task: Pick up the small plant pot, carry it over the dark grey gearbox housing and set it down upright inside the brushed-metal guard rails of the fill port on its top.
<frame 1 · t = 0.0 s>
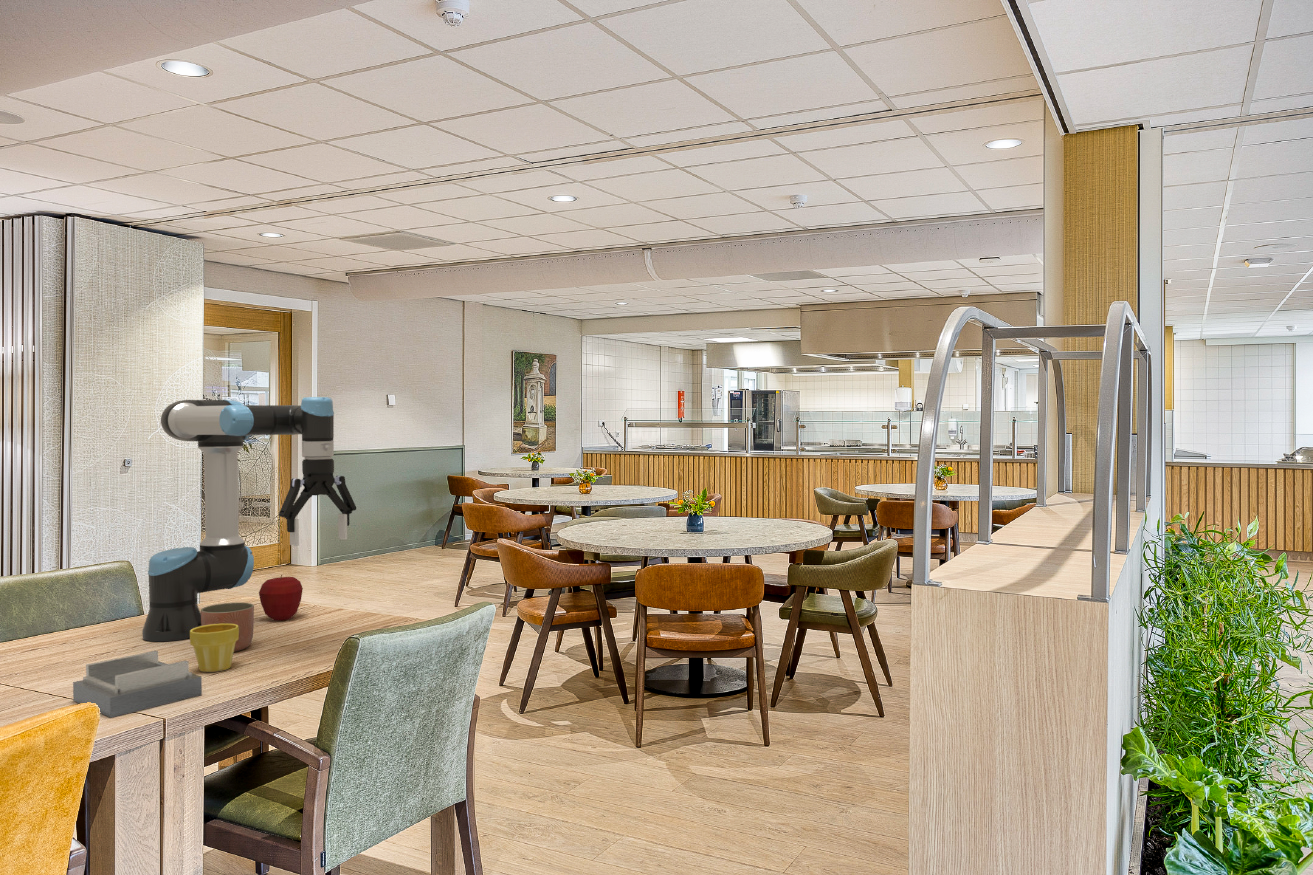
hand: (319, 542, 226), 28 cm above the table, fingers open, 13 cm apart
plant pot: (215, 669, 212), on the table
gearbox housing: (138, 697, 190), on the table
planter: (228, 650, 230), on the table
apple: (281, 620, 264), on the table
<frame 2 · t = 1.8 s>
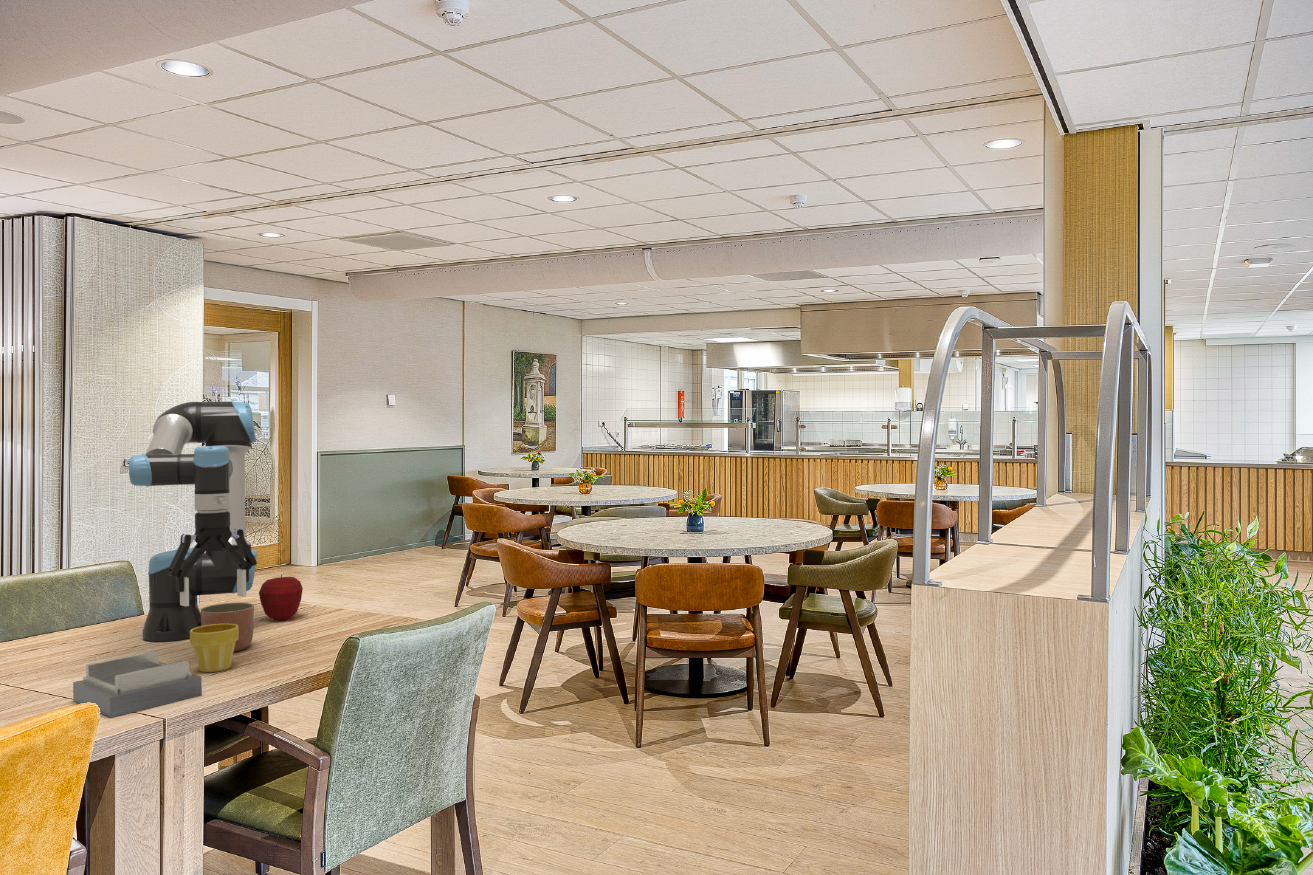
hand: (213, 600, 212), 16 cm above the table, fingers open, 13 cm apart
nothing on the table moved.
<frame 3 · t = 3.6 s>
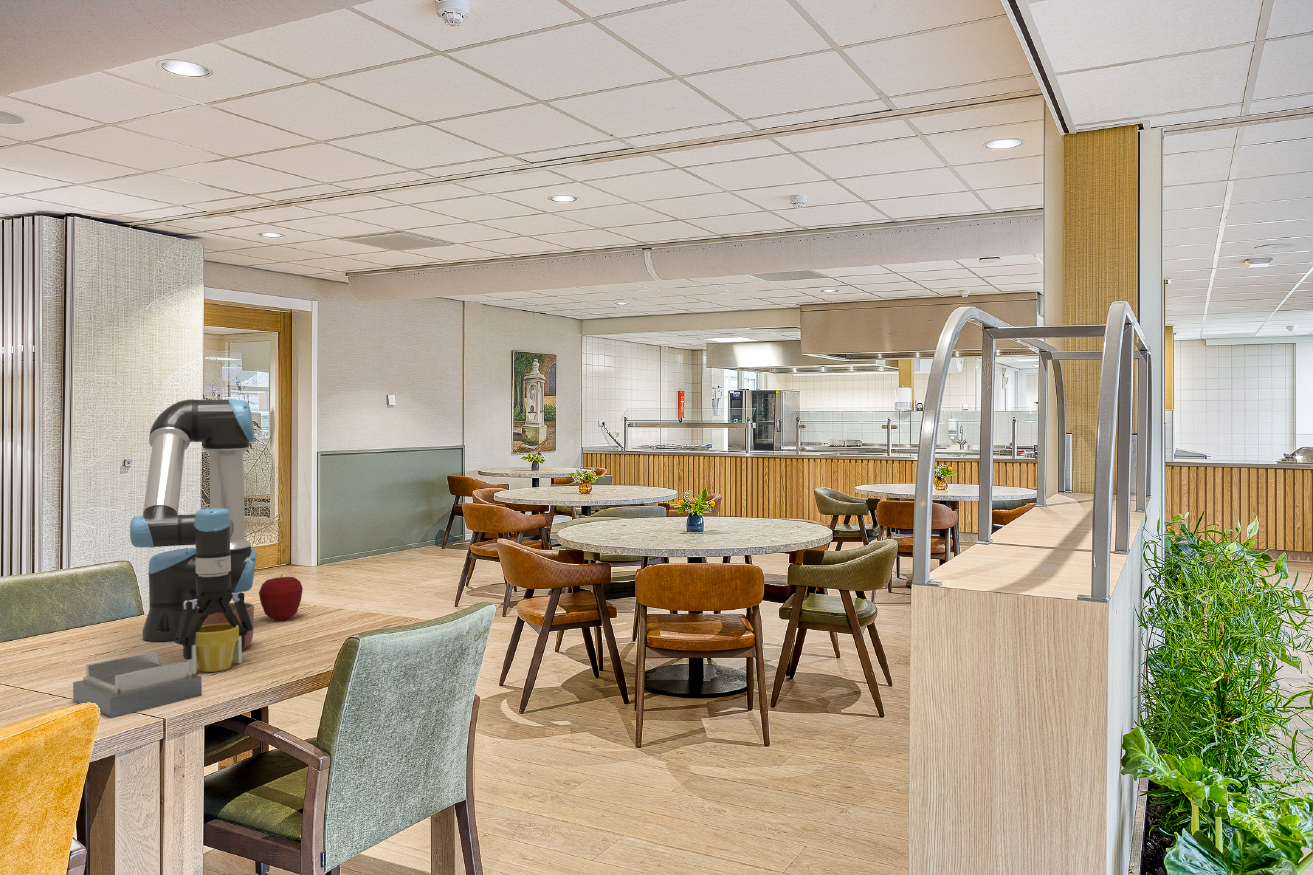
hand: (215, 667, 212), 0 cm above the table, fingers closed on plant pot, 10 cm apart
plant pot: (215, 669, 212), on the table, touching gripper
everything else where it was.
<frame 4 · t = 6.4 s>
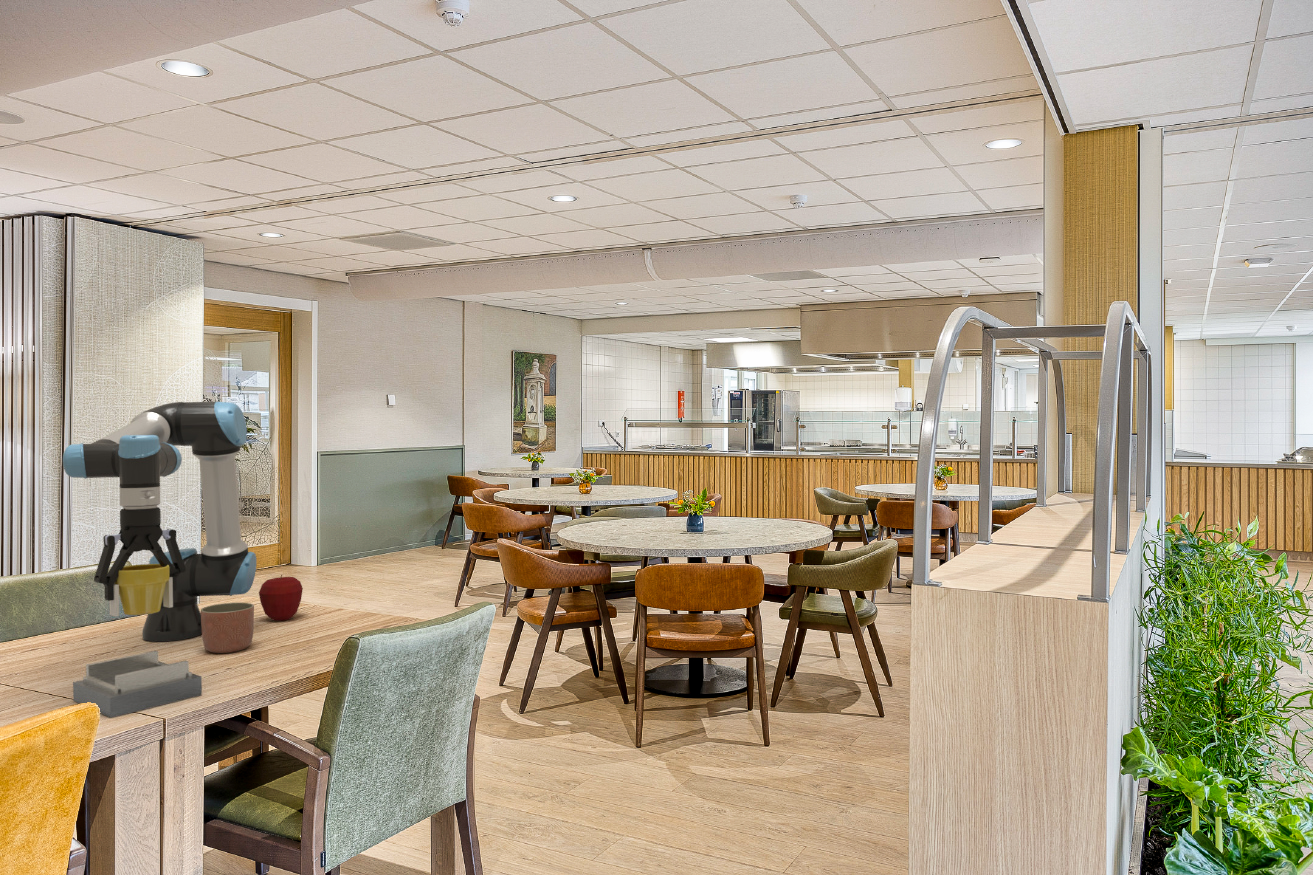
hand: (141, 610, 191), 18 cm above the table, fingers closed on plant pot, 10 cm apart
plant pot: (142, 613, 191), point 18 cm above the table, touching gripper
everything else where it was.
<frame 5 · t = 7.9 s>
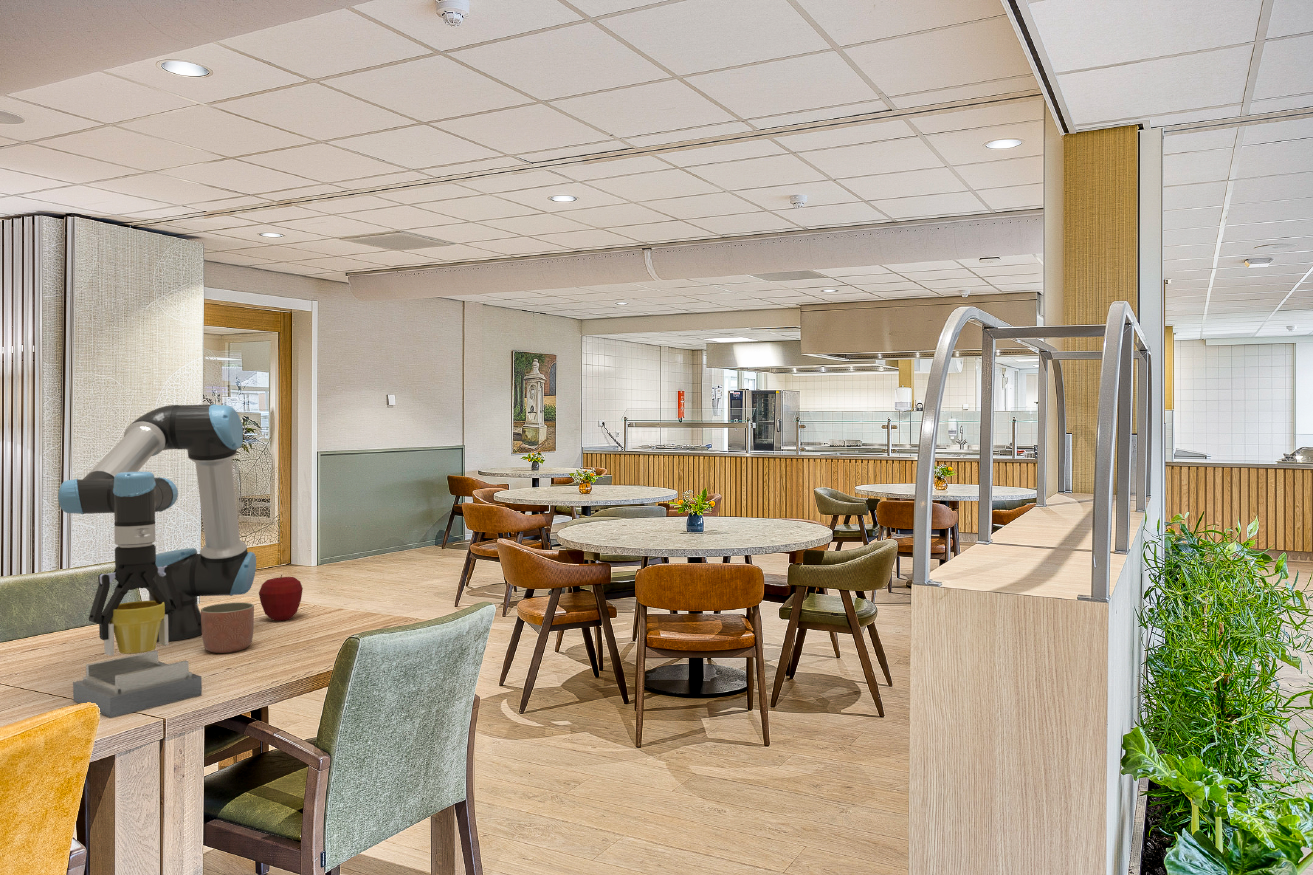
hand: (137, 649, 190), 10 cm above the table, fingers closed on plant pot, 10 cm apart
plant pot: (137, 651, 190), point 10 cm above the table, touching gripper
everything else where it was.
when the fingers open (7 cm above the table, at t = 9.2 s): plant pot drops 2 cm, resting on gearbox housing.
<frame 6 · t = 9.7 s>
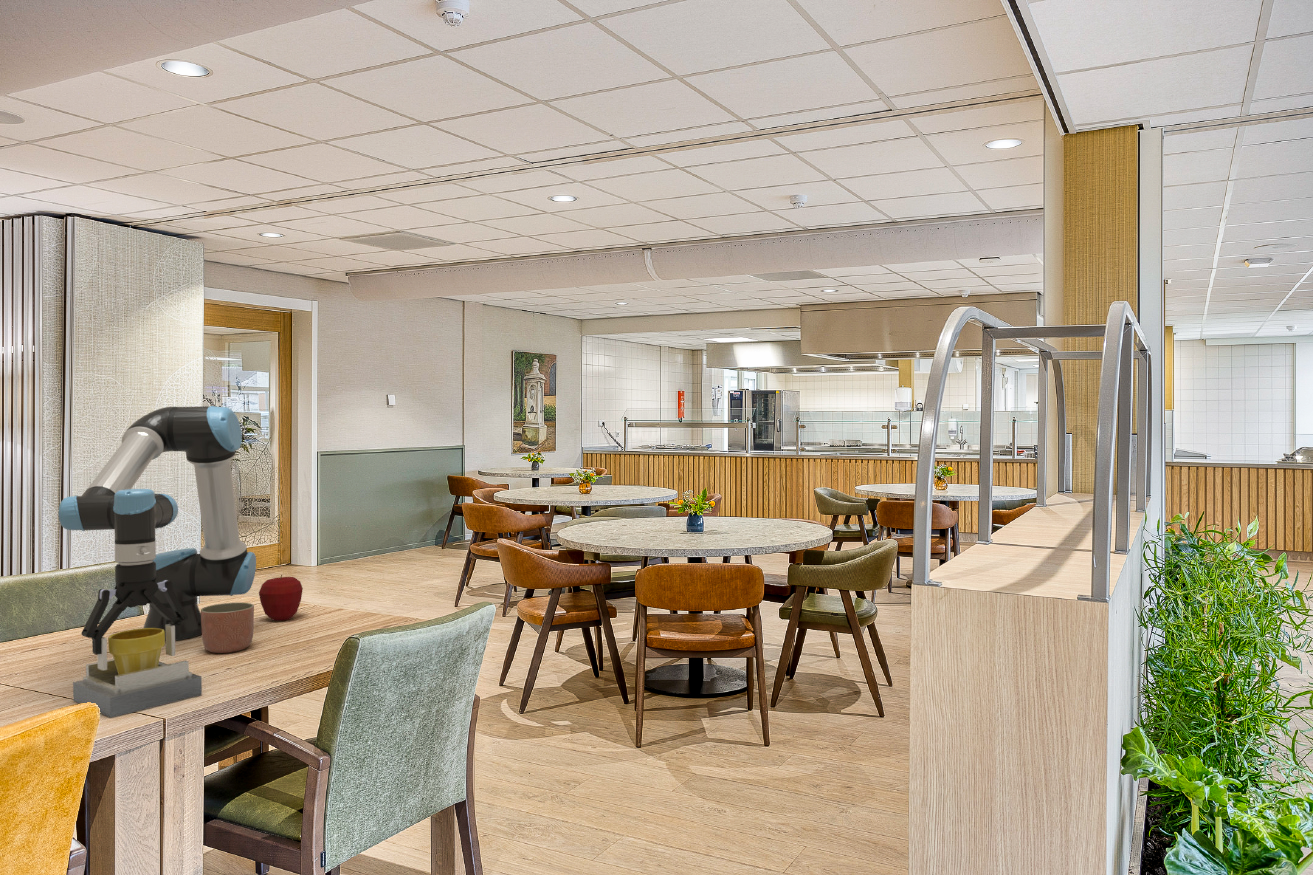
hand: (137, 661, 190), 8 cm above the table, fingers open, 13 cm apart
plant pot: (138, 679, 190), point 4 cm above the table, touching gearbox housing
everything else where it was.
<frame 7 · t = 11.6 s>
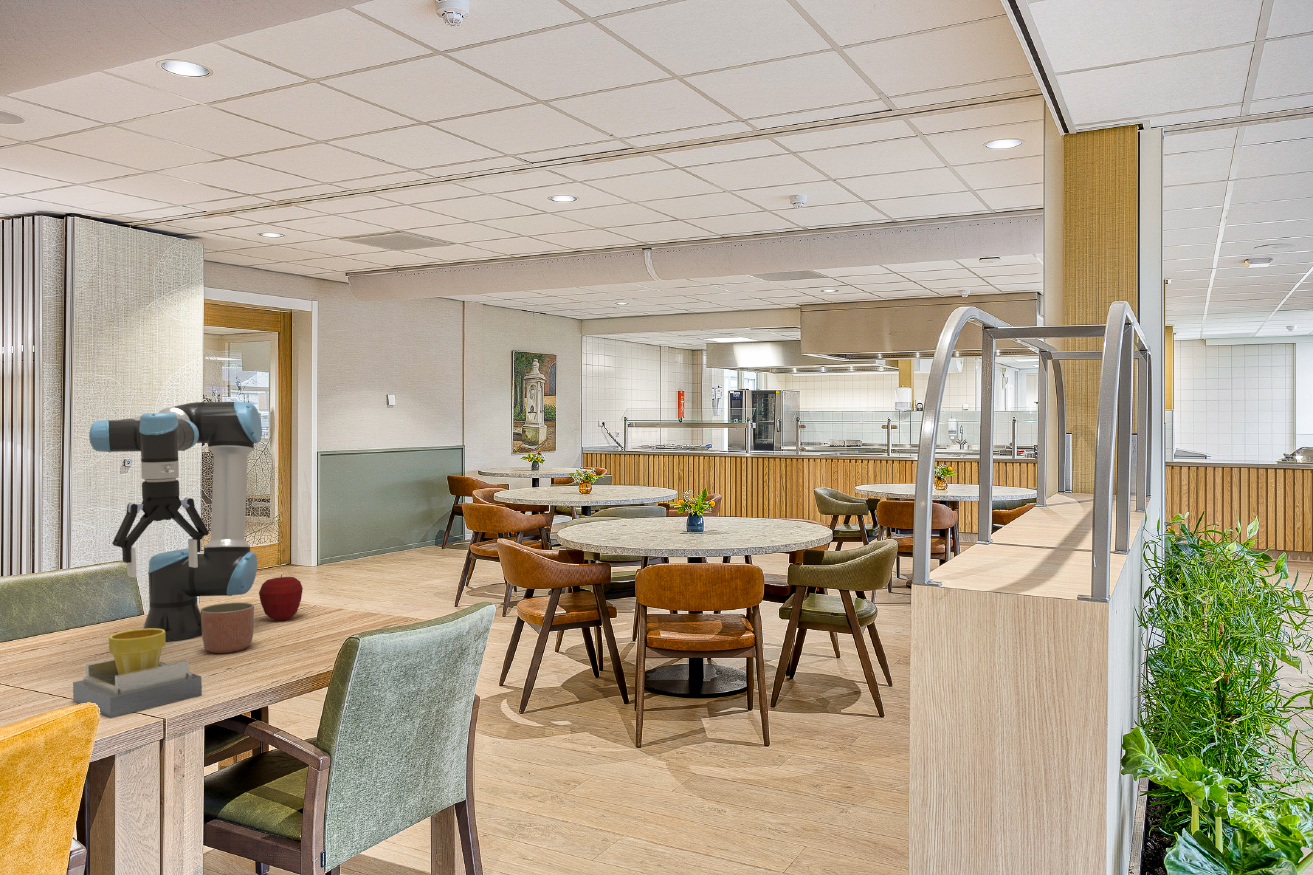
hand: (163, 571, 206), 24 cm above the table, fingers open, 13 cm apart
nothing on the table moved.
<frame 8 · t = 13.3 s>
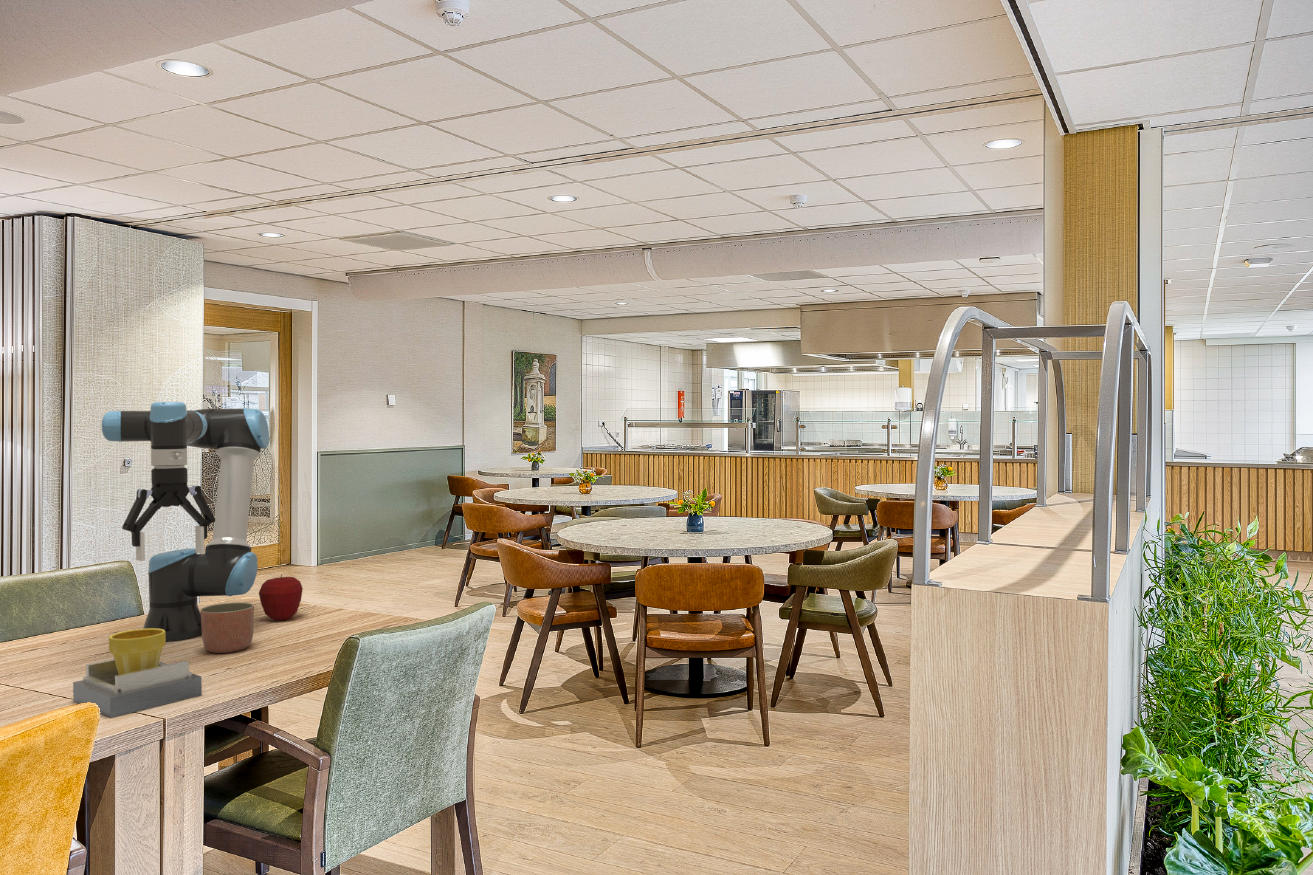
hand: (171, 556, 212), 27 cm above the table, fingers open, 13 cm apart
nothing on the table moved.
at the end: plant pot inside the target area on the gearbox housing (0.3 cm from its centre), point 3.8 cm above the gearbox housing's base; plant pot tilted 0°; the gripper is holding nothing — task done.
